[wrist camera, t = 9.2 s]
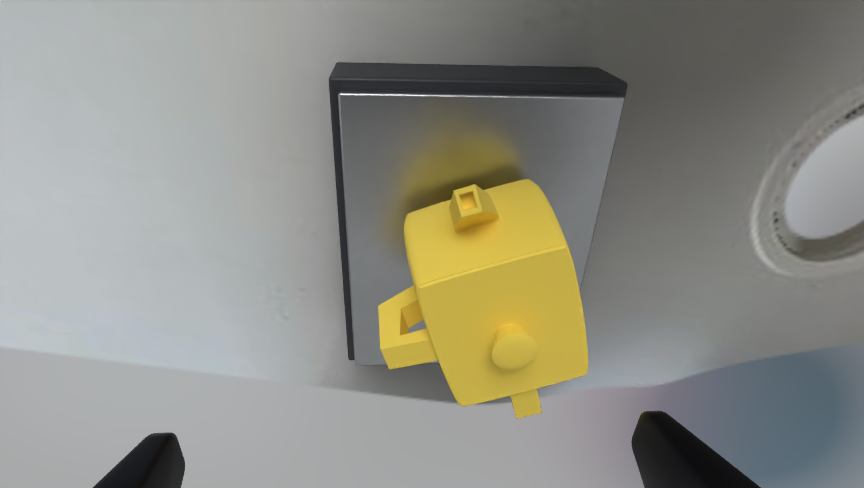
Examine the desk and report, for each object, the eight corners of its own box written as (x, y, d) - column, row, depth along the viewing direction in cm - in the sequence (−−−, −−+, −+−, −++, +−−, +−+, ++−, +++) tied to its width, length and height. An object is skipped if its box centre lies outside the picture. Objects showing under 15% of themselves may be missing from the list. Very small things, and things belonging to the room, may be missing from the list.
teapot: (337, 167, 15) (317, 258, 10) (523, 110, 14) (585, 180, 10) (414, 353, 19) (423, 476, 14) (560, 313, 18) (616, 427, 14)
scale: (548, 322, 23) (569, 369, 20) (352, 328, 22) (347, 377, 19) (599, 67, 17) (638, 87, 14) (335, 61, 16) (325, 81, 13)
